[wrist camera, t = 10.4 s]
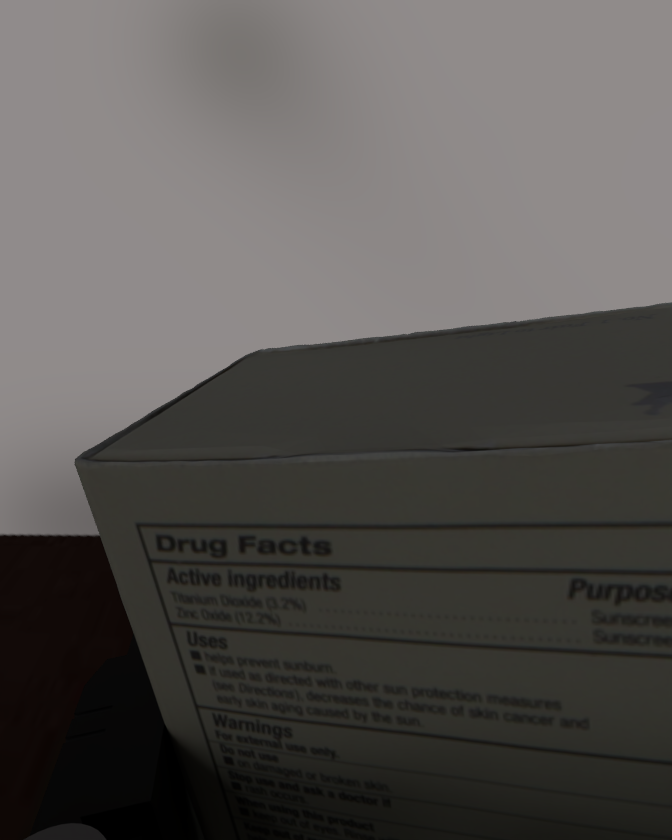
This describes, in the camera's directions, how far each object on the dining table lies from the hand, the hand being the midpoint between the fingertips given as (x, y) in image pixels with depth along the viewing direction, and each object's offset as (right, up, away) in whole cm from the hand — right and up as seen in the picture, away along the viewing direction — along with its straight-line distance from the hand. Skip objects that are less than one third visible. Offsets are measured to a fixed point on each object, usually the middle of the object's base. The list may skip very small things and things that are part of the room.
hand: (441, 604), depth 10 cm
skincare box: (+1, -8, 0) cm, 8 cm away
